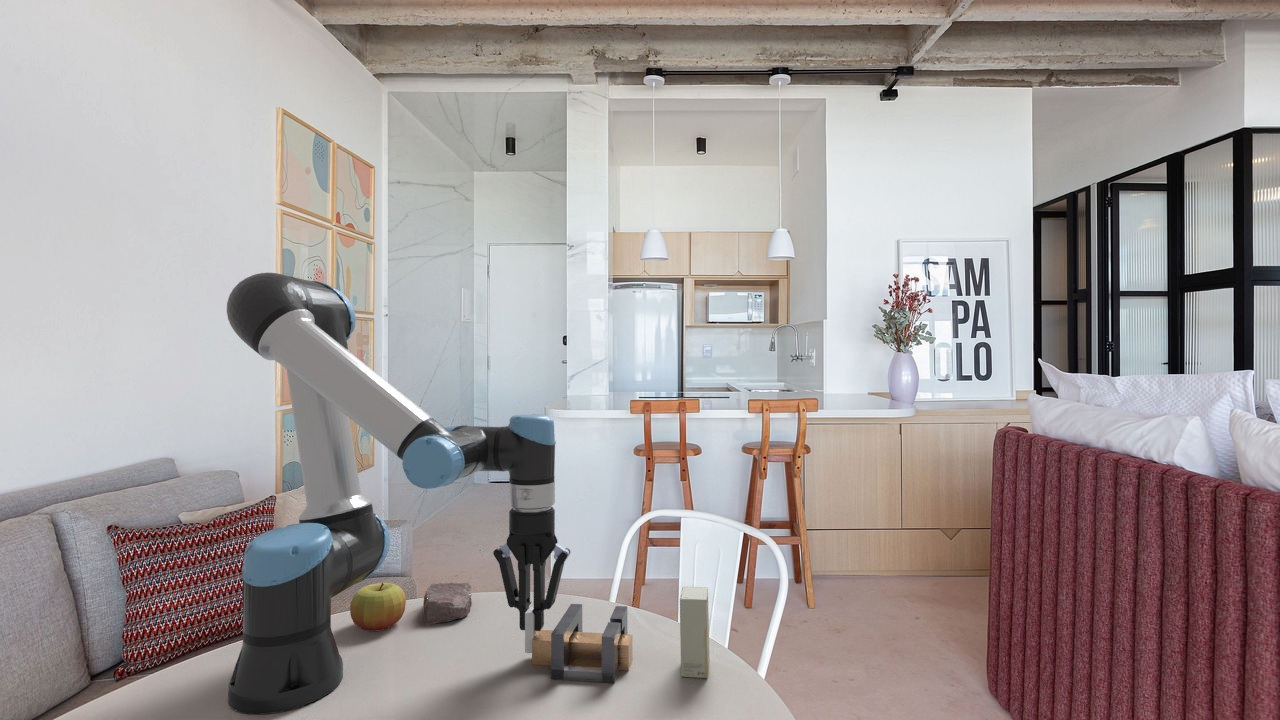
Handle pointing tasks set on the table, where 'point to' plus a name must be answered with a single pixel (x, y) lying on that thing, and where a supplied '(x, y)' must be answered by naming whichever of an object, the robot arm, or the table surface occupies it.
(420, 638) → the table surface
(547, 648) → the block
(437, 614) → the stone
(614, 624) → the grey open frame bracket
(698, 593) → the skincare box
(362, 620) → the apple
